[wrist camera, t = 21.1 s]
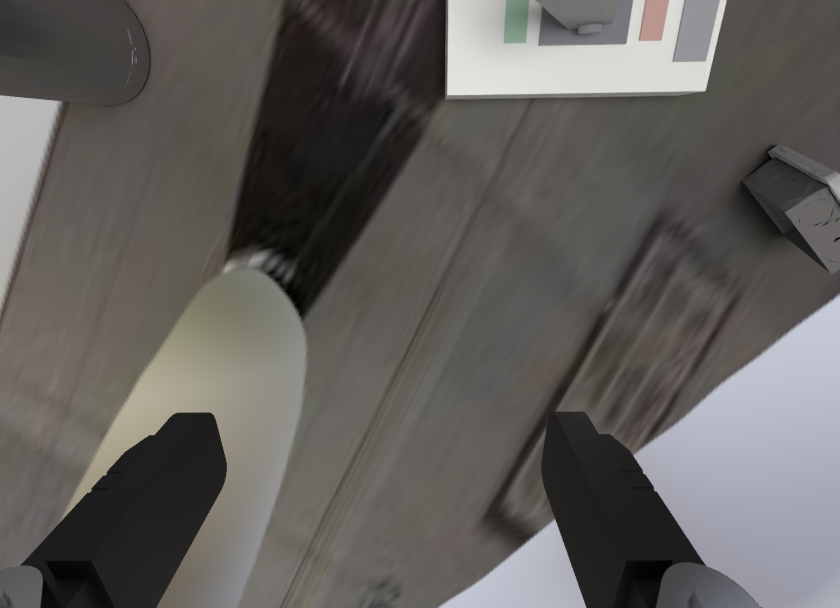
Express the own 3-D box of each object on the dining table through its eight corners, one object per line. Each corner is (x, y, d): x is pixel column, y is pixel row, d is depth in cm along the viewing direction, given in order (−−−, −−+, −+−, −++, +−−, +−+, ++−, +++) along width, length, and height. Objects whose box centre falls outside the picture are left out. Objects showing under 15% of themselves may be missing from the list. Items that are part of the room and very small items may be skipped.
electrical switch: (824, 212, 38) (925, 242, 30) (770, 249, 40) (851, 287, 32) (773, 141, 36) (867, 153, 28) (718, 184, 38) (791, 207, 30)
